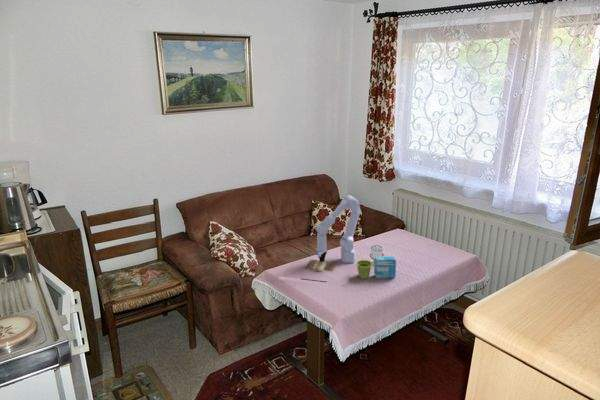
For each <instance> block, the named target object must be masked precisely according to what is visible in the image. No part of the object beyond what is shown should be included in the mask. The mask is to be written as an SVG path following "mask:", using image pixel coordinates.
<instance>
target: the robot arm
mask: <svg viewBox="0 0 600 400" xmlns="http://www.w3.org/2000/svg"><path fill="white" fill-rule="evenodd" d="M344 210H350V211H351V212H350V216H349V219H348V223H347V226H346V230H345V233H344V234H342V237H341V238H340V239H339V245H340V247H341V248H340V261H341V262H342V263H346V264H347V263H350V264H355V262H357V261H356V259H357V255H356V253H357V251H356V250H355V249H354V242H355V241H354V234H355V231H356V228H357V224H358V221H359V217H360V215H361V211H362V210H361V206H360V202H359V200H358V199H356V198H355V197H354V196H353V195H351V194H347V195H345V196H344V197H343V198H342V199H341V201H340V202H339V204H338V205H337V207H336V208H335V209H334V211H333V212H332V213H331V214H329V215H327V216H325V217H324V219H323V220H322V221H321V222H320V223H319V224H318V225H316V227H315V231H316V232H317V233H316V238H317V239H316V243H317V247H316V248H315V251H317V253H316V255H317V257H318V259H319V260H320V261H323V262H324V261H326V255H327V254H328V249H327V234H328V231H329V229H330V228H331V227H332V226H333V224H334V223H335V222H336V218H337V217H338V216H339V215H340V214H342V212H343V211H344Z"/></svg>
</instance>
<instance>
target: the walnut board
mask: <svg viewBox="0 0 600 400" xmlns="http://www.w3.org/2000/svg"><path fill="white" fill-rule="evenodd" d="M317 261H320V259H319V260H316V259H309V261H308V263H307V265H305V267H304V269H308V270H313V267H314V266H315V264H316V262H317ZM324 262H326V263H327V265H326V267H325V268H324V270H323V271H325V272H326V271H327V272H334V270H335V268H336V266H337V264H338V261H328V260H325V261H324Z"/></svg>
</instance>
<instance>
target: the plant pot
mask: <svg viewBox="0 0 600 400" xmlns="http://www.w3.org/2000/svg"><path fill="white" fill-rule="evenodd" d="M355 262H356V263H355V264H356V266H357V272H358V277H359V278H361V279H369V278H370V274H371V268H372V265H373V263H372V261H370V260H367V259H361V260H357V261H355Z"/></svg>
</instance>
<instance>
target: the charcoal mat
mask: <svg viewBox="0 0 600 400" xmlns="http://www.w3.org/2000/svg"><path fill="white" fill-rule="evenodd" d="M301 280H303V281H313V282H318V283H319V282H321V283H327V282H328V281H327V280H326V281H325V280H316V279H308V278H301Z"/></svg>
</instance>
